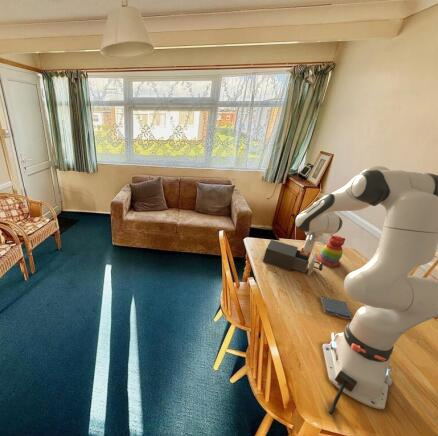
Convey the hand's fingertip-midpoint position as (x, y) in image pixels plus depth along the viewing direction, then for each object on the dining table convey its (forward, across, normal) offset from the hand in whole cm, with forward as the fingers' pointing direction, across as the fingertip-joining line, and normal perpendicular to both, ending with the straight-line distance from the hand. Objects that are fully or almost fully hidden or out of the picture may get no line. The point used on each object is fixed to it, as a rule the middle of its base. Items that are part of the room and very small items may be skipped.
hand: (306, 251), depth 127 cm
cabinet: (+12, 0, +12) cm, 16 cm away
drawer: (+11, 0, 0) cm, 11 cm away
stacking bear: (+12, +17, -12) cm, 24 cm away
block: (+2, 0, 0) cm, 2 cm away
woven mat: (+12, -25, -16) cm, 32 cm away
